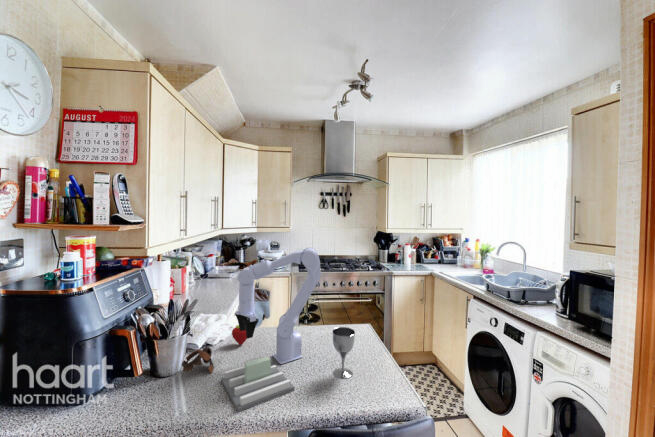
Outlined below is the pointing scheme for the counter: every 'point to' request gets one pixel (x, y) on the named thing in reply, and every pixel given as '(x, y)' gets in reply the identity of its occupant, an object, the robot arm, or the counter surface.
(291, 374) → the counter surface
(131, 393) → the counter surface
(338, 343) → the wine glass
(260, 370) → the mint green upright block
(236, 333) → the strawberry
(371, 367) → the counter surface
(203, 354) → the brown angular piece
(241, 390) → the rack
